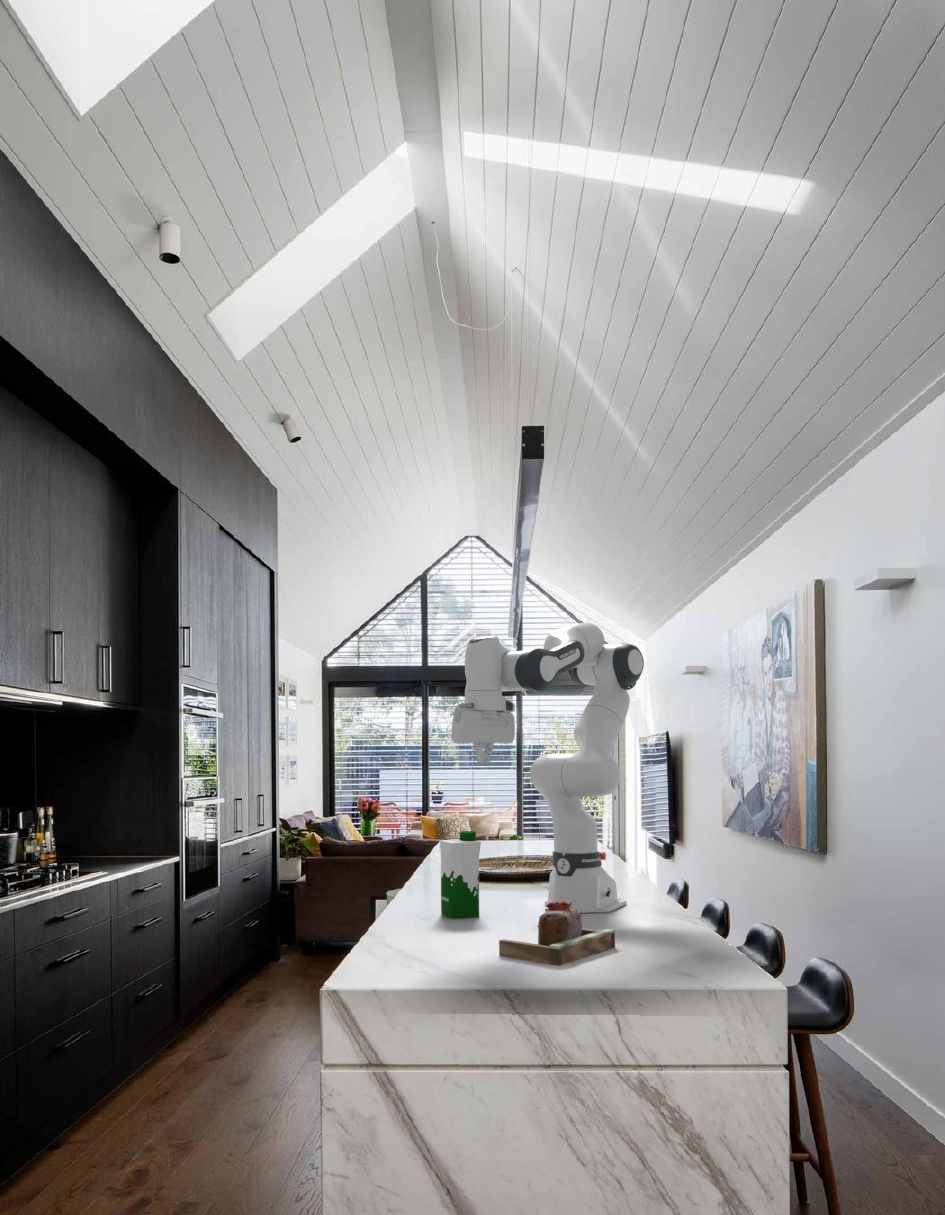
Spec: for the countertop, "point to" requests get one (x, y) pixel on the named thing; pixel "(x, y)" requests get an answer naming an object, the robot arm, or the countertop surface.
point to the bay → (560, 948)
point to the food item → (559, 924)
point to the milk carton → (460, 876)
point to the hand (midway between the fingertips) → (483, 762)
